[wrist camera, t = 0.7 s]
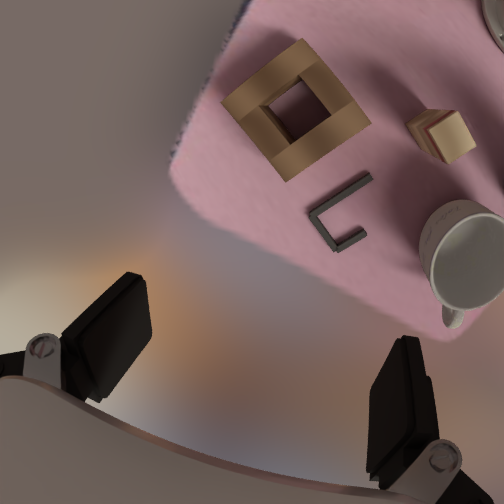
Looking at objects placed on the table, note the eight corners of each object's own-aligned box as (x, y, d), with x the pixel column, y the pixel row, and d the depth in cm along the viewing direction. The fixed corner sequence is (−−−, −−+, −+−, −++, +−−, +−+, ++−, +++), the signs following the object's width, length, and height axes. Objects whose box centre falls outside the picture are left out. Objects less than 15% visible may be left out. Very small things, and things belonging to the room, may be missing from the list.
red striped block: (427, 108, 26) (457, 110, 19) (443, 134, 27) (476, 145, 19) (404, 123, 28) (428, 129, 20) (420, 149, 29) (448, 164, 21)
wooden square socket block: (306, 46, 27) (302, 37, 23) (366, 121, 29) (371, 123, 25) (234, 102, 32) (220, 102, 28) (291, 173, 34) (285, 182, 30)
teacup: (431, 177, 30) (455, 198, 23) (503, 207, 28) (535, 234, 21) (390, 284, 36) (399, 325, 29) (459, 303, 35) (477, 343, 28)
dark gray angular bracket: (369, 172, 31) (369, 174, 31) (396, 215, 32) (397, 217, 32) (307, 213, 35) (306, 215, 34) (335, 252, 36) (335, 254, 36)
